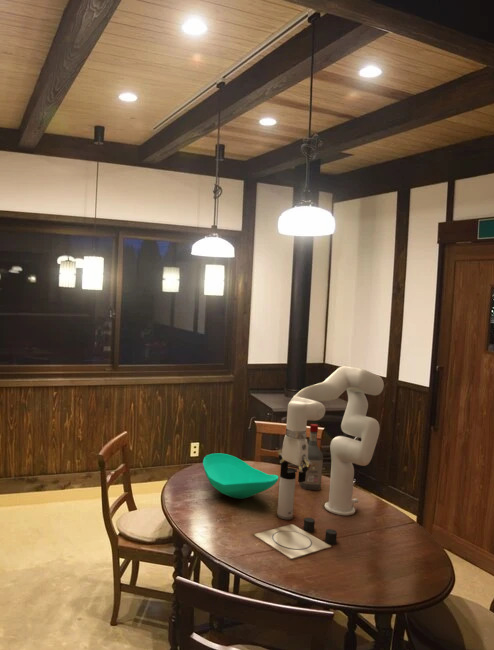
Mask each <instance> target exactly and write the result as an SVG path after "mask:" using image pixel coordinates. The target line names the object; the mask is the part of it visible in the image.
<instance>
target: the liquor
mask: <svg viewBox="0 0 494 650" xmlns="http://www.w3.org/2000/svg"><path fill="white" fill-rule="evenodd" d="M318 431H319V425H318V424H316V423H310V426H309V440H308V459H309V460H310V462H311V463H312V465H311V467H310V469H309V470H308V471H307V472H306V479H305V482H298V483H299V486H300V487H301V489H303V490H307V491H319V490H320V489H321V487H322V478H323V477H322V476H323V463H324V462H323V461H324V455H323V452H322V451H321V449H320V447H319V446H318ZM302 469H303V466H302Z"/></svg>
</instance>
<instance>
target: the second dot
mask: <svg viewBox="0 0 494 650" xmlns="http://www.w3.org/2000/svg"><path fill="white" fill-rule="evenodd" d="M337 537H338V532H337V531H336V530H335V529H332V528H327V529H326V530H325V536H324V542H325V543H326V544H328V545H336V544H337V539H338V538H337Z"/></svg>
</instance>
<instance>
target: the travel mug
mask: <svg viewBox="0 0 494 650" xmlns="http://www.w3.org/2000/svg"><path fill="white" fill-rule="evenodd" d="M279 471H280V472H281V470H279ZM297 472H298V469H297V468H292V467H288V472H287V473H285V474H281V473H279V474H280V475H279V483H278V484H279V485H278V499H277V513H276V516H277V517H278V518H279V519H280V520H288V521H289V520H292V519H293V517H294V505H295V503H294V502H295V493H296V492H295V491H296V477H297V475H296V473H297Z"/></svg>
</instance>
